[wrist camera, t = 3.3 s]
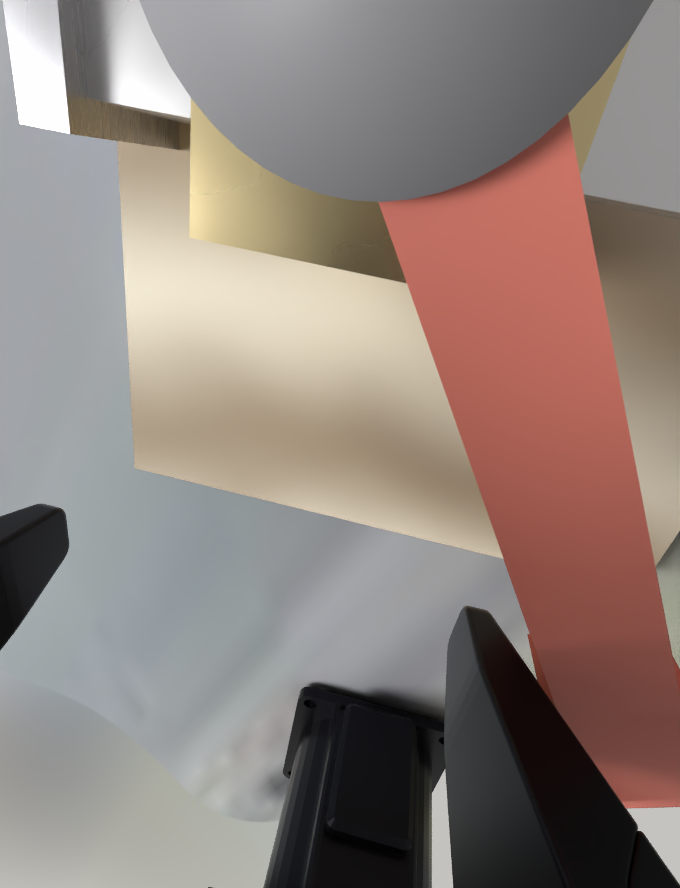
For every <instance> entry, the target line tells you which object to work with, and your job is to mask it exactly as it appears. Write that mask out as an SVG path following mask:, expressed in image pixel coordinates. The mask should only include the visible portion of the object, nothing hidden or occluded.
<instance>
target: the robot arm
mask: <svg viewBox="0 0 680 888" xmlns="http://www.w3.org/2000/svg"><path fill="white" fill-rule="evenodd" d="M68 549H69V538H68V529H67V521H66V514H65V512H64V511H63V509H61V508H59V507H54V506H50V505H46V504H36V505H33V506H30V507H27V508H24V509H21V510H18V511H15V512H12V513H9V514H6V515H3V516H0V650H1V649H2V648H3V646H4V645H5V644H6V643H7V641H8V640H9V639H10V637H11V636H12V635H13V634H14V632H15V631H16V630H17V628H18V627H19V625H20V624H21V623H22V621H23V620H24V618H25V617H26V615H27V614H28V612H29V611H30V609H31V608H32V606H33V605H34V603H35V602H36V600H37V599H38V597H39V596H40V594H41V593H42V591H43V590H44V588H45V587H46V585H47V584H48V582H49V581H50V579H51V578H52V576H53V575H54V573H55V572H56V570H57V569H58V567H59V566H60V564H61V563H62V561H63V560H64V558H65V556H66V554H67V552H68ZM444 769H446V784H447V799H448V814H449V828H450V844H451V858H452V874H453V888H680V885H679V883H678V882H677V880H676V879H675V877H674V876H673V875H672V873H671V872H670V870H669V869H668V868H667V866H666V865H665V864H664V862H663V861H662V859H661V858H660V856H659V855H658V853H657V852H656V851H655V849H654V848H653V846H652V845H651V843H650V842H649V840H648V839H647V838H646V836H645V835H644V834H643V832H641V831H637V830H638V827H637V824H636V822H635V821H634V819H633V818H632V816H631V815H630V814H629V812H628V811H627V809H626V808H625V806H624V805H623V803H622V802H621V801H620V799H619V798H618V796H617V795H616V793H615V792H614V791H613V789H612V788H611V786H610V785H609V783H608V782H607V780H606V779H605V778H604V776H603V775H602V773H601V772H600V770H599V769H598V768H597V766H596V765H595V763H594V762H593V760H592V759H591V757H590V756H589V755H588V753H587V752H586V750H585V749H584V747H583V746H582V744H581V743H580V742H579V740H578V739H577V737H576V736H575V734H574V733H573V732H572V730H571V729H570V727H569V726H568V724H567V723H566V721H565V720H564V719H563V717H562V716H561V714H560V713H559V711H558V710H557V709H556V707H555V706H554V704H553V703H552V701H551V700H550V698H549V697H548V696H547V694H546V693H545V691H544V690H543V688H542V687H541V686H540V684H539V683H538V681H537V680H536V678H535V677H534V675H533V674H532V673H531V671H530V670H529V668H528V667H527V665H526V664H525V663H524V661H523V660H522V658H521V657H520V655H519V654H518V652H517V651H516V650H515V648H514V647H513V645H512V644H511V642H510V641H509V640H508V638H507V637H506V635H505V634H504V632H503V631H502V629H501V628H500V627H499V625H498V624H497V622H496V621H495V619H494V618H493V617H492V615H491V614H490V613H489V612H488V611H486V610H483V609H479V608H475V607H471V606H465V607H464V608H463V609H462V610H461V612H460V614H459V617H458V619H457V622H456V624H455V626H454V629H453V631H452V634H451V636H450V639H449V643H448V651H447V674H446V698H445V723H444V722H440V721H436V720H433V719H429V718H425V717H422V716H418V715H414V714H411V713H407V712H403V711H400V710H396V709H392V708H388V707H385V706H381V705H377V704H374V703H370V702H366V701H363V700H359V699H355V698H352V697H348V696H344V695H340V694H337V693H333V692H329V691H326V690H322V689H318V688H315V687H304V688H303V689H301V691H300V695H299V698H298V703H297V707H296V712H295V717H294V721H293V726H292V731H291V736H290V740H289V745H288V750H287V755H286V759H285V764H284V769H283V774H284V775H285V776H286V777H287V778H289V779H290V780H289V784H288V788H287V792H286V797H285V801H284V805H283V809H282V813H281V817H280V821H279V826H278V830H277V834H276V838H275V842H274V846H273V850H272V855H271V859H270V863H269V867H268V871H267V875H266V880H265V884H264V888H432V881H431V880H432V792H433V790H434V788H435V786H436V784H437V783H438V781H439V779H440V777H441V775H442V773H443V771H444ZM208 888H212V887H208Z"/></svg>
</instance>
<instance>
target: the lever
mask: <svg viewBox="0 0 680 888" xmlns="http://www.w3.org/2000/svg"><path fill="white" fill-rule="evenodd" d="M139 1H140V4H141V6H142V8H143V11H144V13H145V16H146V18H147V21H148V23H149V26H150V28H151V31H152V33H153V34H154V36H155V38H156V40H157V42H158V44H159V46H160V48H161V50H162V52H163V54H164V55H165V57H166V59H167V61H168V63H169V65H170V67H171V69H172V70H173V72H174V73H175V75H176V76H177V78H178V79H179V81H180V82H181V84H182V85H183V87H184V88H185V90H186V91H187V93H188V94H189V96H190V97H191V99H192V100H193V101H194V102H195V104H196V105H197V106H198V107H199V108H200V110H201V111H202V112H203V113H204V114H205V116H206V117H207V118H208V119H209V120H210V122H211V123H212V124H213V125H214V126H215V127H216V128H217V129H218V130H219V131H220V132H221V133H222V134H223V135H224V136H225V137H226V138H227V139H228V140H229V141H230V142H231V143H233V144H234V145H235V146H236V147H237V148H238V149H239V150H240V151H242V152H243V153H244V154H246V155H247V156H248V157H250V158H251V159H252V160H254V161H255V162H257V163H258V164H259V165H261V166H262V167H263V168H265V169H266V170H268V171H270V172H272V173H274V174H276V175H278V176H279V177H281V178H283V179H285V180H287V181H289V182H291V183H292V184H295V185H298V186H300V187H303V188H306V189H309V190H311V191H314V192H317V193H319V194H323V195H328V196H333V197H337V198H342V199H347V200H356V201H372V202H378V203H379V205H380V208H381V211H382V214H383V217H384V220H385V222H386V225H387V228H388V231H389V234H390V237H391V240H392V242H393V245H394V248H395V251H396V254H397V257H398V260H399V262H400V265H401V268H402V271H403V274H404V277H405V279H406V282H407V285H408V288H409V291H410V294H411V297H412V299H413V302H414V305H415V308H416V311H417V314H418V316H419V319H420V322H421V325H422V328H423V331H424V334H425V336H426V339H427V342H428V345H429V348H430V351H431V353H432V356H433V359H434V362H435V365H436V368H437V371H438V373H439V376H440V379H441V382H442V385H443V388H444V391H445V393H446V396H447V399H448V402H449V405H450V408H451V410H452V413H453V416H454V419H455V422H456V425H457V428H458V430H459V433H460V436H461V439H462V442H463V445H464V447H465V450H466V453H467V456H468V459H469V462H470V465H471V467H472V470H473V473H474V476H475V479H476V482H477V485H478V487H479V490H480V493H481V496H482V499H483V502H484V504H485V507H486V510H487V513H488V516H489V519H490V522H491V524H492V527H493V530H494V533H495V536H496V539H497V541H498V544H499V547H500V550H501V553H502V556H503V559H504V561H505V564H506V567H507V570H508V573H509V576H510V579H511V581H512V584H513V587H514V590H515V593H516V596H517V598H518V601H519V604H520V607H521V610H522V613H523V616H524V618H525V621H526V624H527V627H528V630H529V633H530V634H528V639H529V644H530V648H531V653H532V658H533V662H534V667H535V672H536V676H537V681H538V683H539V684H540V686H541V687H542V688H543V690H544V691H545V693H546V694H547V696H548V697H549V698H550V700H551V701H552V703H553V704H554V706H555V707H556V709H557V710H558V711H559V713H560V714H561V716H562V717H563V719H564V720H565V721H566V723H567V724H568V726H569V727H570V729H571V730H572V732H573V733H574V734H575V736H576V737H577V739H578V740H579V742H580V743H581V744H582V746H583V747H584V749H585V750H586V752H587V753H588V755H589V756H590V757H591V759H592V760H593V762H594V763H595V765H596V766H597V768H598V769H599V770H600V772H601V773H602V775H603V776H604V778H605V779H606V780H607V782H608V783H609V785H610V786H611V788H612V789H613V791H614V792H615V793H616V795H617V796H618V798H619V799H620V801H621V802H622V803H623V805H624V806H625V808H658V807H680V669H679V667H678V665H677V663H676V662H675V660H674V658H673V656H672V651H671V645H670V640H669V635H668V630H667V625H666V619H665V614H664V609H663V604H662V599H661V593H660V588H659V583H658V578H657V573H656V567H655V562H654V557H653V552H652V547H651V541H650V536H649V531H648V526H647V521H646V516H645V510H644V505H643V500H642V495H641V490H640V484H639V479H638V474H637V469H636V464H635V458H634V453H633V448H632V443H631V438H630V432H629V427H628V422H627V417H626V412H625V406H624V401H623V396H622V391H621V386H620V380H619V375H618V370H617V365H616V360H615V354H614V349H613V344H612V339H611V334H610V329H609V323H608V318H607V313H606V308H605V303H604V297H603V292H602V287H601V282H600V277H599V271H598V266H597V261H596V256H595V251H594V245H593V240H592V235H591V230H590V225H589V219H588V214H587V209H586V204H585V199H584V193H583V188H582V183H581V178H580V173H579V168H578V162H577V157H576V152H575V147H574V142H573V136H572V131H571V126H570V121H569V116H568V113H569V112H570V111H571V110H572V109H573V108H574V107H575V106H576V105H577V103H578V102H579V101H580V100H581V99H582V98H583V97H584V96H585V95H586V94H587V93H588V91H589V90H590V89H591V88H592V87H593V86H594V85H595V84H596V83H597V82H598V80H599V79H600V78H601V77H602V76H603V74H604V73H605V72H606V70H607V69H608V68H609V66H610V65H611V64H612V62H613V61H614V60H615V58H616V57H617V56H618V54H619V53H620V52H621V50H622V49H623V48H624V46H625V45H626V44H627V42H628V41H629V40H630V38H631V37H632V35H633V33H634V32H635V30H636V28H637V27H638V25H639V23H640V22H641V20H642V19H643V17H644V15H645V14H646V12H647V10H648V9H649V7H650V5H651V4H652V2H653V1H654V0H139Z"/></svg>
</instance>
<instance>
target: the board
mask: <svg viewBox="0 0 680 888" xmlns="http://www.w3.org/2000/svg"><path fill="white" fill-rule="evenodd" d="M190 131H191V124H186V123H181V122H179V150H174V149H168V148H161V147H155V146H148V145H141V144H135V143H128V142H121V141H117V145H118V164H119V183H120V201H121V220H122V239H123V257H124V276H125V295H126V313H127V332H128V351H129V369H130V388H131V407H132V426H133V444H134V463H135V468H137V469H141V470H145V471H149V472H153V473H157V474H161V475H165V476H169V477H173V478H177V479H181V480H185V481H190V482H194V483H198V484H202V485H206V486H210V487H214V488H218V489H222V490H226V491H230V492H234V493H238V494H242V495H246V496H251V497H255V498H259V499H263V500H267V501H271V502H275V503H279V504H283V505H287V506H291V507H295V508H299V509H303V510H307V511H311V512H316V513H320V514H324V515H328V516H332V517H336V518H340V519H344V520H348V521H352V522H356V523H360V524H364V525H368V526H372V527H377V528H381V529H385V530H389V531H393V532H397V533H401V534H405V535H409V536H413V537H417V538H421V539H425V540H429V541H433V542H438V543H442V544H446V545H450V546H454V547H458V548H462V549H466V550H470V551H474V552H478V553H482V554H486V555H490V556H494V557H499V558H503V556H502V553H501V550H500V547H499V544H498V541H497V539H496V536H495V533H494V530H493V527H492V524H491V522H490V519H489V516H488V513H487V510H486V507H485V504H484V502H483V499H482V496H481V493H480V490H479V487H478V485H477V482H476V479H475V476H474V473H473V470H472V467H471V465H470V462H469V459H468V456H467V453H466V450H465V447H464V445H463V442H462V439H461V436H460V433H459V430H458V428H457V425H456V422H455V419H454V416H453V413H452V410H451V408H450V405H449V402H448V399H447V396H446V393H445V391H444V388H443V385H442V382H441V379H440V376H439V373H438V371H437V368H436V365H435V362H434V359H433V356H432V353H431V351H430V348H429V345H428V342H427V339H426V336H425V334H424V331H423V328H422V325H421V322H420V319H419V316H418V314H417V311H416V308H415V305H414V302H413V299H412V297H411V294H410V291H409V288H408V285H407V283H402V282H398V281H393V280H388V279H383V278H379V277H374V276H369V275H364V274H360V273H355V272H350V271H346V270H341V269H336V268H331V267H327V266H322V265H317V264H312V263H308V262H303V261H298V260H293V259H289V258H284V257H279V256H274V255H270V254H265V253H260V252H255V251H251V250H246V249H241V248H236V247H232V246H227V245H222V244H217V243H213V242H208V241H203V240H198V239H194V238H189V220H190ZM585 204H586V209H587V214H588V219H589V225H590V230H591V235H592V240H593V245H594V251H595V256H596V261H597V266H598V271H599V277H600V282H601V287H602V292H603V297H604V303H605V308H606V313H607V318H608V323H609V329H610V334H611V339H612V344H613V349H614V354H615V360H616V365H617V370H618V375H619V380H620V386H621V391H622V396H623V401H624V406H625V412H626V417H627V422H628V427H629V432H630V438H631V443H632V448H633V453H634V458H635V464H636V469H637V474H638V479H639V484H640V490H641V495H642V500H643V505H644V510H645V516H646V521H647V526H648V531H649V536H650V541H651V547H652V552H653V557H654V562H655V567H656V565H657V564H658V562H659V561H660V559H661V558H662V556H663V555H664V553H665V552H666V551H667V549H668V548H669V546H670V545H671V543H672V542H673V540H674V539H675V537H676V536H677V534H678V533H679V531H680V219H675V218H670V217H665V216H659V215H654V214H649V213H644V212H639V211H634V210H629V209H623V208H618V207H613V206H608V205H603V204H598V203H593V202H587V201H585Z"/></svg>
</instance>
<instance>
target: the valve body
mask: <svg viewBox="0 0 680 888" xmlns="http://www.w3.org/2000/svg"><path fill="white" fill-rule="evenodd" d="M3 6H4V14H5V21H6V28H7V35H8V43H9V50H10V57H11V64H12V72H13V79H14V86H15V93H16V101H17V108H18V115H19V122H20V124H24V125H29V126H34V127H39V128H44V129H49V130H54V131H59V132H64V133H69V134H75V135H82V136H88V137H95V138H102V139H108V140H115V141H121V142H128V143H135V144H141V145H148V146H155V147H161V148H168V149H174V150H179V122H181V123H186V124H191V131H190V220H189V238H194V239H198V240H203V241H208V242H213V243H217V244H222V245H227V246H232V247H236V248H241V249H246V250H251V251H255V252H260V253H265V254H270V255H274V256H279V257H284V258H289V259H293V260H298V261H303V262H308V263H312V264H317V265H322V266H327V267H331V268H336V269H341V270H346V271H350V272H355V273H360V274H364V275H369V276H374V277H379V278H383V279H388V280H393V281H398V282H402V283H407V282H406V279H405V277H404V274H403V271H402V268H401V265H400V262H399V260H398V257H397V254H396V251H395V248H394V245H393V242H392V240H391V237H390V234H389V231H388V228H387V225H386V222H385V220H384V217H383V214H382V211H381V208H380V205H379V203H378V202H372V201H356V200H347V199H342V198H337V197H333V196H328V195H323V194H319V193H317V192H314V191H311V190H309V189H306V188H303V187H300V186H298V185H295V184H292V183H291V182H289V181H287V180H285V179H283V178H281V177H279V176H278V175H276V174H274V173H272V172H270V171H268V170H266V169H265V168H263V167H262V166H261V165H259V164H258V163H257V162H255V161H254V160H252V159H251V158H250V157H248V156H247V155H246V154H244V153H243V152H242V151H240V150H239V149H238V148H237V147H236V146H235V145H234V144H233V143H231V142H230V141H229V140H228V139H227V138H226V137H225V136H224V135H223V134H222V133H221V132H220V131H219V130H218V129H217V128H216V127H215V126H214V125H213V124H212V123H211V122H210V120H209V119H208V118H207V117H206V116H205V114H204V113H203V112H202V111H201V110H200V108H199V107H198V106H197V105H196V104H195V102H194V101H193V100H192V99H191V97H190V96H189V94H188V93H187V91H186V90H185V88H184V87H183V85H182V84H181V82H180V81H179V79H178V78H177V76H176V75H175V73H174V72H173V70H172V69H171V67H170V65H169V63H168V61H167V59H166V57H165V55H164V54H163V52H162V50H161V48H160V46H159V44H158V42H157V40H156V38H155V36H154V34H153V33H152V31H151V28H150V26H149V23H148V21H147V18H146V16H145V13H144V11H143V8H142V6H141V4H140V1H139V0H3ZM568 116H569V121H570V126H571V131H572V136H573V142H574V147H575V152H576V157H577V162H578V168H579V173H580V178H581V183H582V188H583V193H584V199H585V201H587V202H593V203H598V204H603V205H608V206H613V207H618V208H623V209H629V210H634V211H639V212H644V213H649V214H654V215H659V216H665V217H670V218H675V219H680V0H654V1H653V2H652V4H651V5H650V7H649V9H648V10H647V12H646V14H645V15H644V17H643V19H642V20H641V22H640V23H639V25H638V27H637V28H636V30H635V32H634V33H633V35H632V37H631V38H630V40H629V41H628V42H627V44H626V45H625V46H624V48H623V49H622V50H621V52H620V53H619V54H618V56H617V57H616V58H615V60H614V61H613V62H612V64H611V65H610V66H609V68H608V69H607V70H606V72H605V73H604V74H603V76H602V77H601V78H600V79H599V80H598V82H597V83H596V84H595V85H594V86H593V87H592V88H591V89H590V90H589V91H588V93H587V94H586V95H585V96H584V97H583V98H582V99H581V100H580V101H579V102H578V103H577V105H576V106H575V107H574V108H573V109H572V110H571V111H570V112H569V113H568Z"/></svg>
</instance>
